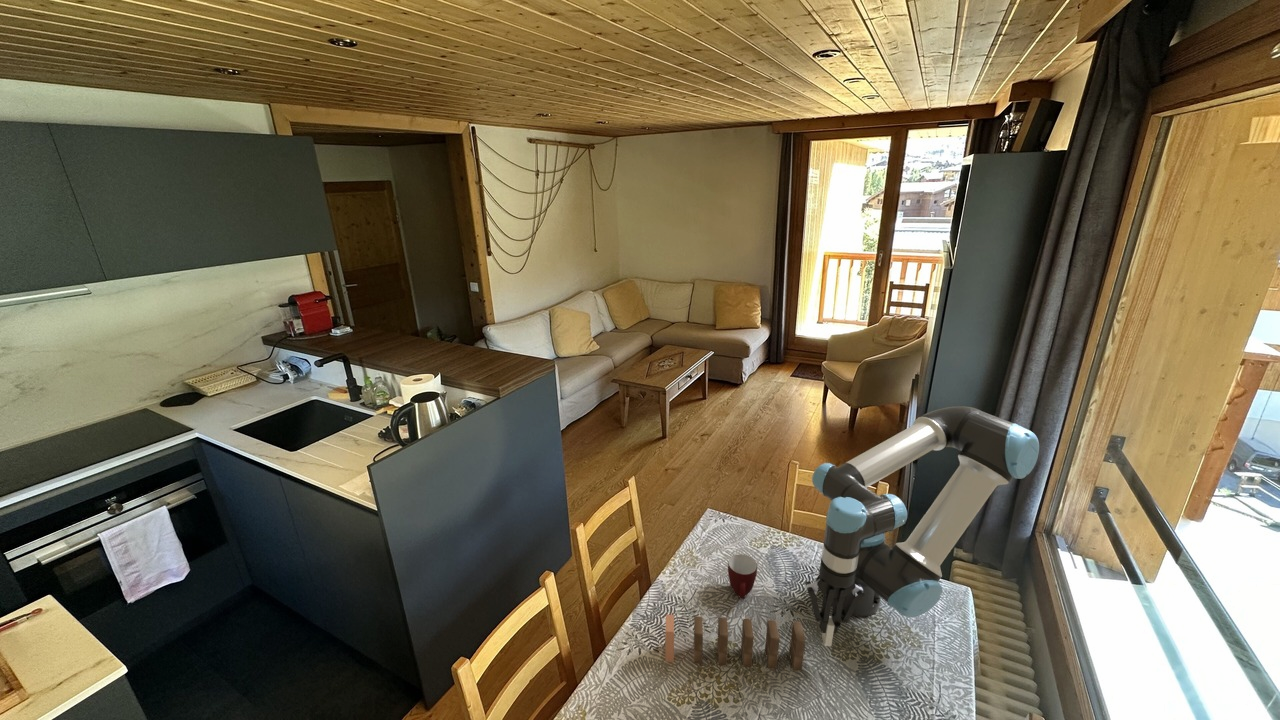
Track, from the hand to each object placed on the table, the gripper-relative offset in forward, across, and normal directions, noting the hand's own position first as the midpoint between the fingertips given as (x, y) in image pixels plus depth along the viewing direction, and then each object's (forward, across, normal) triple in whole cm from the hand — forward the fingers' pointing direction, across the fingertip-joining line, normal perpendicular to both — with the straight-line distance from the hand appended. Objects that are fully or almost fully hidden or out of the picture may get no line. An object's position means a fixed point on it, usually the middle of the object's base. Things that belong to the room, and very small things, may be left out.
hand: (826, 641), depth 118 cm
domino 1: (+8, +38, 0) cm, 38 cm away
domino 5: (+7, +13, 0) cm, 15 cm away
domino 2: (+8, +31, 0) cm, 32 cm away
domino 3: (+8, +25, 0) cm, 26 cm away
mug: (+8, +18, -20) cm, 28 cm away
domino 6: (+7, +7, 0) cm, 10 cm away
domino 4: (+7, +19, 0) cm, 20 cm away
